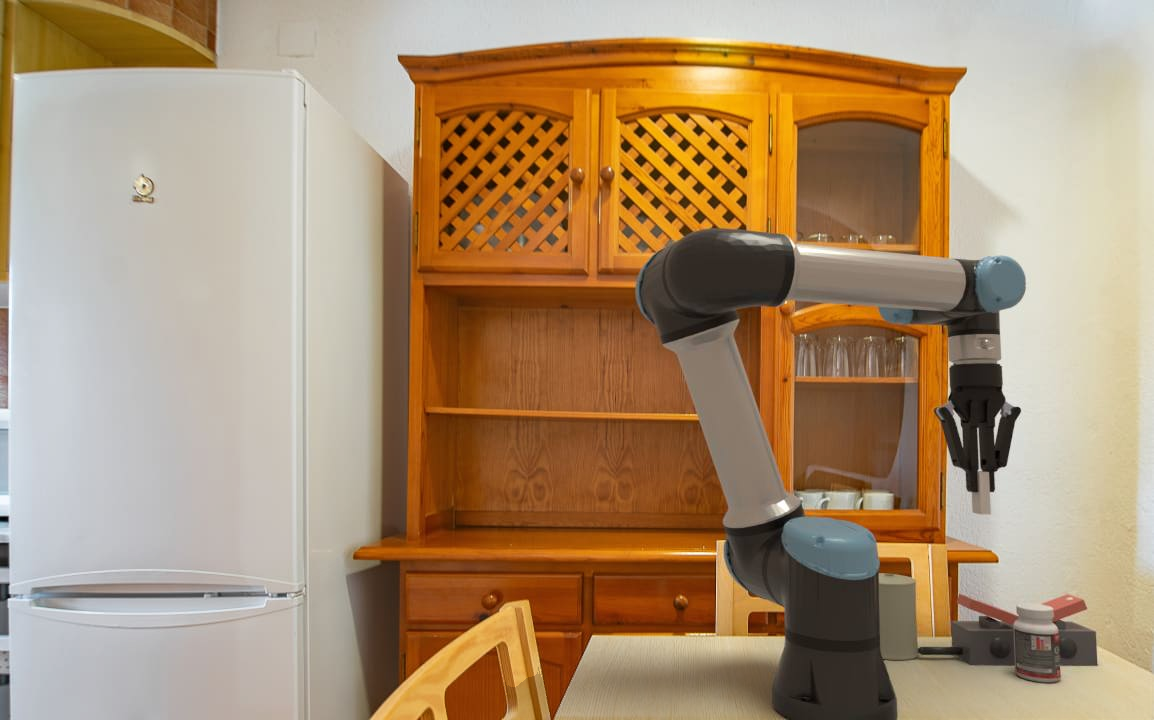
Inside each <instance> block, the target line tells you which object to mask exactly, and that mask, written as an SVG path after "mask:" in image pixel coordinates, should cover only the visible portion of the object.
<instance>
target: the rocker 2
mask: <svg viewBox="0 0 1154 720" xmlns="http://www.w3.org/2000/svg"><path fill="white" fill-rule="evenodd" d="M1041 604H1042V605H1047V606H1050V607H1052V608H1053V611H1054V617H1053V618H1052V622H1054V621H1057V620H1062V619H1064V618H1067V617H1070V616H1072V615H1075V614H1078V613H1081V612H1084V611H1086V610H1088V607H1087V605H1086V602H1085V600H1084V599H1082V598H1080V597H1077V596H1074V595H1071V594H1069V593H1067V594H1064V595H1061V596H1059V597H1056V598H1053V599H1051V600H1048V601H1045V602H1042V603H1041Z"/></svg>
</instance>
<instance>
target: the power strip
mask: <svg viewBox="0 0 1154 720" xmlns="http://www.w3.org/2000/svg"><path fill="white" fill-rule="evenodd" d="M1052 623H1054V624H1055V625H1056V626H1057V628H1058V632H1059V652H1060V666H1098V645H1097V644H1098V643H1097V631H1096V630H1094V629H1091V628H1088V627H1086V626H1083V625H1082V624H1078V623H1077V622H1074V621H1066V620H1065V621H1064V620H1062V619H1060V620H1057V621H1054V622H1052ZM950 627H951V646H919V647H918V653H919V655H922V656H956V657H957V658H958V659H960V658H961V660H962V661H964V662H965V663H967V664H968V665H970V666H1015V659H1014V635H1013V625H1011V624H1009V623H1006V622H1003V621H1001V620H998V619H995V618H992V617H990V616H987V615H978V620H951V621H950Z"/></svg>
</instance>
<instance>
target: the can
mask: <svg viewBox="0 0 1154 720" xmlns="http://www.w3.org/2000/svg"><path fill="white" fill-rule="evenodd" d="M916 583H917V581H916V579H915V578H913V577H910V576H906V575H901V574H897V573H886V572H885V573H883V572H882V573H880V572H879V614H880V650H881V654H882V657H883V660H884V661H885V660H886V661H888V660H889V661H910V660H914V659H917V658H918V657H919V656H920V654H919V653H918V648H919V647H918V646H919V643H918V630H917V629H918V628H917V627H918V626H917V624H918V623H917V597H916V596H917V593H916V585H917V584H916Z"/></svg>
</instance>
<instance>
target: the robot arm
mask: <svg viewBox="0 0 1154 720" xmlns="http://www.w3.org/2000/svg"><path fill="white" fill-rule="evenodd" d="M1026 279H1027V277H1026V273H1025V271H1024V270H1023V267H1022V266H1021V265H1020V263H1019V262H1018V261H1017V260H1015V259H1014V258H1012V257H1010V256H1009V255H995V256H994V255H993V256H984V257H982V258H981V259H965V258H963V259H962V258H950V257H942V256H941V257H939V256H927V255H920V254H919V255H917V254H910V253H909V254H908V253H900V252H899V253H898V252H890V251H889V252H888V251H878V250H877V251H876V250H869V249H859V248H847V247H838V246H827V245H826V246H825V245H817V244H807V243H806V244H805V243H797V242H796V243H795V242H793V240H792V238H791V237H790V236H788V235H787V234H783V233H775V232H766V231H757V230H756V231H755V230H748V229H738V228H737V229H735V228H723V227H718V228H716V227H715V228H714V227H711V228H703V229H699V230H695V231H692V232H690V233H688V234H686V235H685V236H682V237H681V238H680V239H678V240H676V241H674V242H672V243H671V244H669V245H667V246H665V247H663V248H660V249H659V250H657V251H656V252H655V253H654V254H652V255H651V256H650V257H649V258H648V260H647V261H646V262H645V263H644V265H642V268H640V270H639V273H638V276H637V277H636V281H635V300H636V303H637V306H638V308H639V310H640V312H641V314H642V315H643V316H644V318H645V319H646V320H647V321H648V322H650V323H651V324H652V325H654V326H655V327H656V330H657V333H658V335H659V338H660V342H661V344H662V346H663V347H664V348H665V349H668V350H669V351H672V352H673V353H675V354H676V356H677V359H678V361H679V365H680V367H681V371H682V374H683V377H684V379H685V383H686V385H687V388H688V392H689V394H690V398H691V400H692V402H693V403H692V404H693V406H694V408H695V412H696V415H697V417H698V421H699V424H700V426H701V430H702V433H703V436H704V439H705V441H706V445H707V447H708V448H707V449H708V452H710V453H709V454H710V456H711V459H712V462H713V465H714V468H715V471H716V474H717V477H718V479H719V483H720V486H721V488H722V492H723V496H724V498H725V501H726V505H727V511H726V513H725V514H724V517H723V519H722V525H723V528H724V530H725V534H726V539H725V541H723V542H724V543H723V558H724V562H725V565H726V569H727V570H728V573H729V574H730V575H731V577H732V579H733V580H734V581H735V582H736V583H737V584H738V585H739V587H740V586H741V587H742V588H743V589H744V590H745V591H747V592H748V593H749V594H751V595H753V596H755V597H757V598H760V599H762V600H766V601H769V602H770V603H771V602H772V603H773V604H776V605H779V606H780V607H783V608H784V646H783V650H782V651H781V652H782V653H781V656H780V659H779V662H778V667H777V669H776V672H775V676H774V678H773V683H772V686H771V695H772V696H771V702H772V707H773V709H774V710H775V711H777V713H779V714H781V715H782V716H784V717H786V718H787V719H789V720H897V719H898V699H897V695H896V692H895V688H894V687H893V683H892V680H891V677H890V675H889V672H888V669H887V666H886V663H885V659H883V657H882V654H881V650H880V614H879V573H880V571H879V570H880V567H881V566H880V565H881V564H880V563H881V562H880V558H879V552H878V544H877V540H876V537H875V535H874V534H873V533H872V531H870V529H868V528H866V527H865V526H863V525H860V524H857V523H855V522H852V521H848V520H844V519H835V518H832V517H824V516H823V517H822V516H807V515H806V513H805V510H804V507H803V505H802V501H801V499H800V498H799V497H798V496H796V495H794V494H793V493H790V492H789V491H787V490H786V488H785V485H784V482H783V480H782V475H781V473H780V470H779V466H778V464H777V461H776V458H775V456H774V452H773V449H772V446H771V443H770V440H769V437H768V435H767V431H766V428H765V426H764V423H763V419H762V415H761V414H760V411H759V407H758V405H757V402H756V398H755V396H754V393H753V390H752V386H751V384H750V381H749V377H748V375H747V371H746V369H745V365H744V363H743V360H742V357H741V354H740V352H739V348H738V346H737V345H738V344H737V342H736V339H735V336H734V335H735V331H736V329H737V327H738V325H739V322H740V318H739V315H738V312H737V310H740V309H745V308H752V307H769V308H778V307H781V306H782V305H783V304H785V302H787V301H792V302H793V301H794V302H806V303H807V302H809V303H819V304H820V303H822V304H823V303H824V304H834V305H849V306H850V305H851V306H865V307H875V308H876V307H877V309H878V312H879V313H878V314H879V315H880V316H881V318H882V319H883V320H884V321H885V322H887V323H889V324H893V325H902V326H904V327H905V326H908V325H909V326H910V325H911V326H913V325H915V326H919V325H920V326H922V325H923V326H946V328H947V329H946V331H947V345H948V346H947V348H948V352H947V353H948V361H949V362H950V363H952V365H950V367H948V368H949V370H948V372H949V373H948V374H949V389H950V394H949V396H948V398H947V402H946V403H944V404H942V405H941V406H939V407H938V406H937V407H935V408H934V409H933V413H934V414H935V416H936V418H937V419H938V420H939V422H940V424H941V428H942V431H943V435H944V439H945V442H946V445H947V449H948V453H949V455H950V456H949V457H950V460H951V463H952V464H951V465H952V466H953V467H956V468H960V469H962V470H963V471H964V472H965V488H966V491H967V492H969V493H971V508H972V513H973V514H976V515H985V516H986V515H988V516H989V515H991V514H992V510H991V509H992V508H991V493H994V492H995V491H996V486H995V485H996V483H995V473H996V472H997V471H998V470H1000V469H1002V468H1006V467H1007V466H1008V461H1009V456H1010V450H1011V447H1012V446H1011V445H1012V439H1013V434H1014V430H1015V424H1016V422H1017V419H1018V418H1019V416H1020V414H1021V412H1022V408H1020V406H1014V405H1012V404H1010V403H1009V402H1007V401H1006V396H1005V395H1004V392H1003V385H1004V384H1003V380H1004V379H1003V366H1002V365H1001V364H1000V363H998V362H999V361H1001V360H1002V348H1001V347H1002V346H1001V345H1002V342H1001V327H1000V326H1001V324H1000V323H1001V322H1000V321H1001V320H1000V316H1001V315H1000V312H1001V311H1003V310H1008V309H1011V308H1013V307H1015V306H1017V305H1018V304H1019V303H1020V302H1021V301H1022V299H1023V298H1024V296H1025V293H1026V289H1027V286H1026V285H1027V282H1026ZM955 413H956V414H957V416H958V417H959V419H960V426H961V429H962V441H961V437H960V433H959V430H958V425H957V422H956V419H955V418H954V415H955ZM998 414H1000V419H999V420H998V421H999V422H998V426H997V431H996V437H995V427H996V418H997V416H998ZM979 469H981V470H979Z"/></svg>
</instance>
